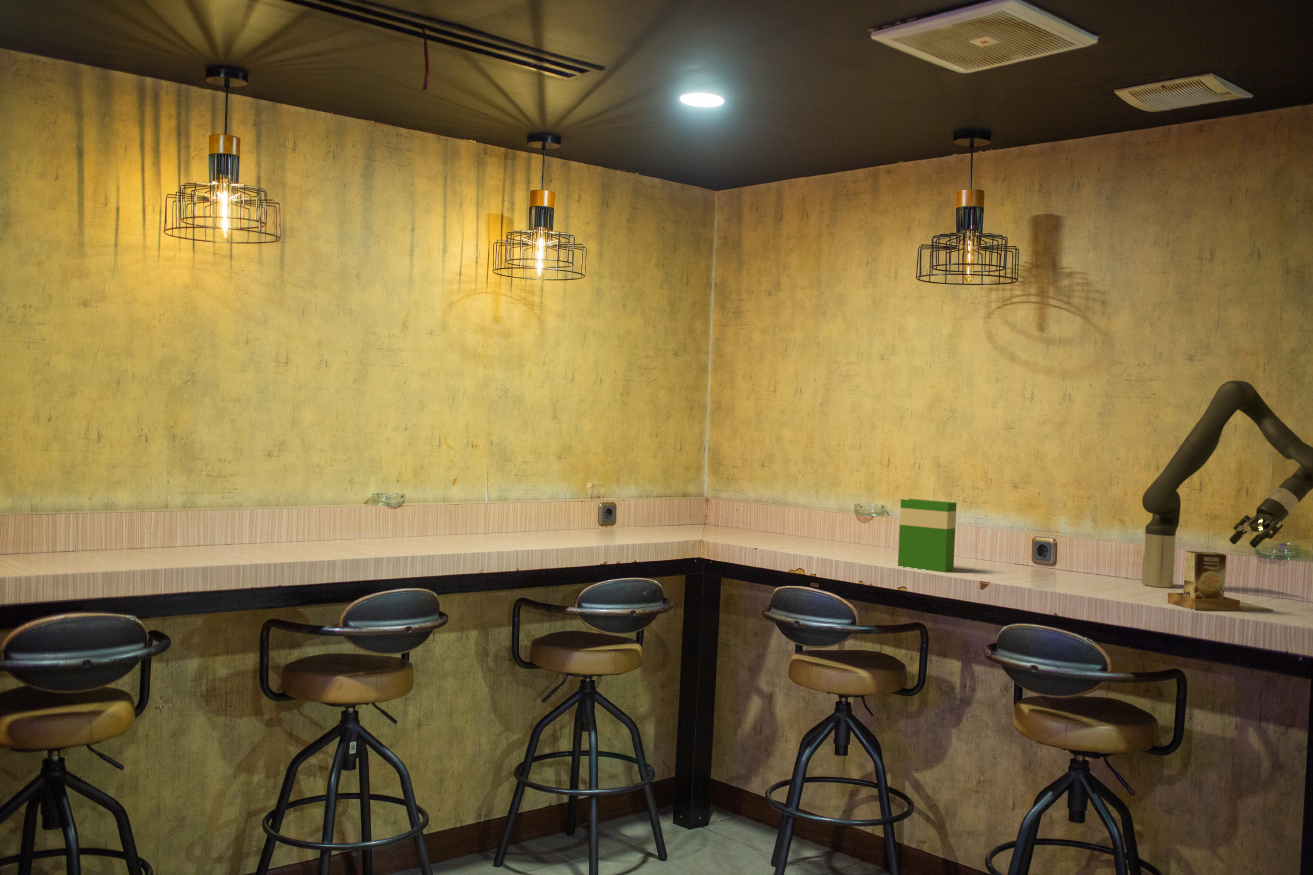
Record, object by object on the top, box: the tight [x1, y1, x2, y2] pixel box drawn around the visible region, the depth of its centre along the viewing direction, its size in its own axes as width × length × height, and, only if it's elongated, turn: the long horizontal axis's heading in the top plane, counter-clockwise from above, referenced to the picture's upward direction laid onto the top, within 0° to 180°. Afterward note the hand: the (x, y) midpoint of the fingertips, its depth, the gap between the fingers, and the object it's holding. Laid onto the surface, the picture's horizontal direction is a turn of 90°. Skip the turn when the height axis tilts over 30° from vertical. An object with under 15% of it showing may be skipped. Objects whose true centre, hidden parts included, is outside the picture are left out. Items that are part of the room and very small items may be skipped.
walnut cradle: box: [1167, 592, 1241, 611], centre depth 317 cm, size 12×14×3 cm
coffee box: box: [1182, 550, 1227, 600], centre depth 317 cm, size 9×6×16 cm
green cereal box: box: [897, 498, 957, 573], centre depth 379 cm, size 18×7×24 cm, turn 52°
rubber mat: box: [1239, 601, 1274, 612], centre depth 319 cm, size 13×10×1 cm
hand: (1241, 543), depth 318 cm, fingers open, 8 cm apart
